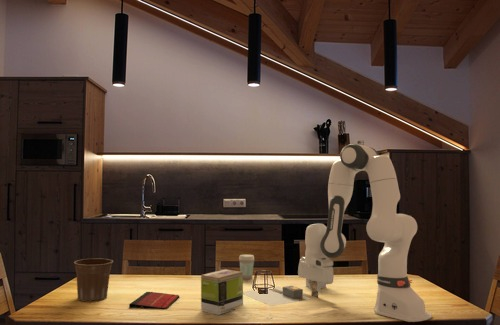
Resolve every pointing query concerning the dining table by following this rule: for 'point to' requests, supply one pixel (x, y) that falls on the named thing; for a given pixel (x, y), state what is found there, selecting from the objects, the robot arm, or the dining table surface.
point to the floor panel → (273, 297)
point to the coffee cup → (246, 265)
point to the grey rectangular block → (292, 292)
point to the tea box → (221, 291)
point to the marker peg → (314, 289)
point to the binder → (154, 300)
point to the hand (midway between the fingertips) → (314, 290)
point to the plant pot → (92, 278)
